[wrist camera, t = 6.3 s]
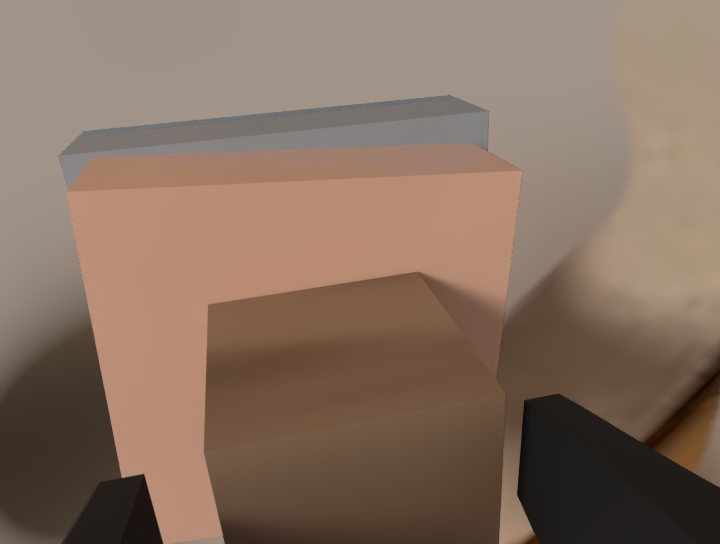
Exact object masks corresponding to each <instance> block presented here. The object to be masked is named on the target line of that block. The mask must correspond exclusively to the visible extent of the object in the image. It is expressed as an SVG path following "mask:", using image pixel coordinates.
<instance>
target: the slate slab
mask: <svg viewBox="0 0 720 544" xmlns="http://www.w3.org/2000/svg"><path fill="white" fill-rule="evenodd" d="M488 121H489V111H487V110H485V109H483V108H480V107H478V106H475V105H473V104H470V103H468V102H465V101H463V100H460V99H458V98H456V97H453V96H450V95H446V96H435V97H425V98H415V99H405V100H395V101H384V102H374V103H365V104H354V105H344V106H334V107H323V108H314V109H303V110H293V111H282V112H272V113H263V114H252V115H242V116H232V117H221V118H211V119H201V120H191V121H181V122H171V123H160V124H151V125H141V126H130V127H120V128H110V129H99V130H89V131H83V132H82V133H81V134H80V135H79V136H78V137H77V138H76V139H75V140H74V141H73V142H72V143H71V144H70V145H69V146H68V147H67V148H66V149H65V150H64V151H63V152H62V153H61V154H60V155H59V160H60V163H61V167H62V170H63V174H64V178H65V181H66V185H67V188H68V189H69V188H70V186H71V185H72V184H73V182H74V181H75V180H76V179H77V177H78V176H79V175H80V174H81V172H82V171H83V170H84V168H85V167H86V166H87V165H88V163H89V162H90V161H91V159H92V158H93V157H94V156H117V155H145V154H173V153H201V152H229V151H258V150H286V149H314V148H342V147H370V146H399V145H427V144H455V143H473V144H475V145H477V146H479V147H481V148H482V149H484V150H486V151H488V124H489V122H488Z"/></svg>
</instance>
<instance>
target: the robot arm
mask: <svg viewBox="0 0 720 544" xmlns="http://www.w3.org/2000/svg"><path fill="white" fill-rule="evenodd" d="M517 495H518V498H519V500H520V502H521V504H522V507H523V509H524V511H525V513H526V515H527V518H528V520H529V522H530V524H531V527H532V529H533V531H534V533H535V535H536V537H537V539H538V541H539V543H540V544H720V488H719V487H718V486H715V485H714V484H712V483H710V482H709V481H706V480H705V479H703V478H701V477H700V476H698V475H696V474H694V473H693V472H691V471H689V470H687V469H686V468H684V467H682V466H680V465H679V464H677V463H675V462H673V461H672V460H670V459H668V458H667V457H665V456H663V455H661V454H660V453H658V452H656V451H655V450H653V449H651V448H650V447H648V446H646V445H645V444H643V443H641V442H640V441H638V440H636V439H635V438H633V437H631V436H630V435H628V434H626V433H625V432H623V431H621V430H620V429H618V428H616V427H615V426H613V425H611V424H610V423H608V422H607V421H605V420H603V419H602V418H600V417H598V416H597V415H595V414H593V413H592V412H590V411H588V410H587V409H585V408H583V407H581V406H580V405H578V404H576V403H575V402H573V401H571V400H569V399H568V398H566V397H564V396H562V395H560V394H555V395H550V396H545V397H539V398H534V399H529V400H524V412H523V425H522V438H521V451H520V464H519V477H518V490H517ZM61 544H163V541H162V537H161V533H160V530H159V526H158V522H157V519H156V515H155V511H154V508H153V504H152V501H151V497H150V493H149V490H148V486H147V482H146V479H145V475H144V474H140V475H135V476H130V477H124V478H119V479H114V480H109V481H104V482H100V483H99V484H98V486H97V487H96V488H95V489H94V491H93V492H92V494H91V496H90V497H89V499H88V500H87V502H86V504H85V505H84V507H83V509H82V510H81V512H80V514H79V516H78V517H77V519H76V520H75V522H74V524H73V525H72V527H71V528H70V530H69V532H68V534H67V535H66V537H65V538H64V540H63V542H62V543H61Z"/></svg>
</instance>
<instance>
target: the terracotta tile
mask: <svg viewBox="0 0 720 544" xmlns="http://www.w3.org/2000/svg"><path fill="white" fill-rule="evenodd" d="M522 173H523V171H522V170H521V169H519V168H517V167H515V166H513V165H511V164H510V163H508V162H506V161H504V160H502V159H501V158H499V157H497V156H495V155H493V154H491V153H489V152H488V151H486V150H484V149H482V148H481V147H479V146H477V145H475V144H473V143H455V144H427V145H399V146H370V147H342V148H314V149H286V150H258V151H229V152H201V153H173V154H145V155H117V156H94V157H93V158H92V159H91V161H90V162H89V163H88V165H87V166H86V167H85V168H84V170H83V171H82V172H81V174H80V175H79V176H78V177H77V179H76V180H75V181H74V182H73V184H72V185H71V186H70V188H69V189H68V190H67V192H66V194H67V199H68V204H69V209H70V214H71V219H72V225H73V230H74V234H75V239H76V245H77V250H78V255H79V260H80V265H81V270H82V276H83V280H84V286H85V291H86V296H87V301H88V306H89V311H90V317H91V322H92V327H93V332H94V337H95V342H96V347H97V352H98V357H99V363H100V368H101V373H102V377H103V383H104V388H105V393H106V398H107V403H108V407H109V413H110V419H111V423H112V429H113V434H114V439H115V444H116V449H117V455H118V459H119V465H120V470H121V475H122V478H124V477H130V476H135V475H140V474H144V475H145V479H146V482H147V486H148V490H149V493H150V497H151V501H152V504H153V508H154V511H155V515H156V519H157V522H158V526H159V530H160V533H161V537H162V541H163V544H173V543H179V542H185V541H190V540H197V539H203V538H209V537H216V536H222V535H223V533H222V529H221V525H220V521H219V516H218V512H217V508H216V503H215V499H214V495H213V490H212V486H211V482H210V478H209V473H208V469H207V465H206V460H205V456H204V426H205V392H206V357H207V323H208V305H209V304H215V303H221V302H228V301H234V300H240V299H247V298H253V297H260V296H266V295H272V294H279V293H285V292H292V291H298V290H304V289H311V288H317V287H323V286H330V285H336V284H343V283H349V282H355V281H362V280H368V279H375V278H381V277H387V276H394V275H400V274H406V273H413V272H418V273H419V275H420V276H421V277H422V279H423V280H424V281H425V283H426V284H427V285H428V287H429V288H430V290H431V291H432V292H433V294H434V295H435V296H436V298H437V299H438V301H439V302H440V303H441V305H442V306H443V307H444V309H445V310H446V312H447V313H448V314H449V316H450V317H451V318H452V320H453V321H454V322H455V324H456V325H457V327H458V328H459V329H460V331H461V332H462V333H463V335H464V336H465V338H466V339H467V340H468V342H469V343H470V344H471V346H472V347H473V349H474V350H475V351H476V353H477V354H478V355H479V357H480V358H481V360H482V361H483V362H484V364H485V365H486V366H487V368H488V369H489V370H490V372H491V373H492V375H493V376H494V377H495V379H496V377H497V369H498V362H499V354H500V346H501V338H502V330H503V322H504V314H505V307H506V298H507V290H508V283H509V275H510V267H511V259H512V251H513V244H514V243H513V242H514V235H515V228H516V219H517V212H518V204H519V196H520V189H521V181H522Z"/></svg>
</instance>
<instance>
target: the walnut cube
mask: <svg viewBox="0 0 720 544" xmlns="http://www.w3.org/2000/svg"><path fill="white" fill-rule="evenodd" d="M505 406H506V392H505V391H504V390H503V388H502V387H501V386H500V384H499V383H498V381H497V380H496V379H495V377H494V376H493V375H492V373H491V372H490V370H489V369H488V368H487V366H486V365H485V364H484V362H483V361H482V360H481V358H480V357H479V355H478V354H477V353H476V351H475V350H474V349H473V347H472V346H471V344H470V343H469V342H468V340H467V339H466V338H465V336H464V335H463V333H462V332H461V331H460V329H459V328H458V327H457V325H456V324H455V322H454V321H453V320H452V318H451V317H450V316H449V314H448V313H447V312H446V310H445V309H444V307H443V306H442V305H441V303H440V302H439V301H438V299H437V298H436V296H435V295H434V294H433V292H432V291H431V290H430V288H429V287H428V285H427V284H426V283H425V281H424V280H423V279H422V277H421V276H420V275H419V273H418V272H413V273H406V274H400V275H394V276H387V277H381V278H375V279H368V280H362V281H355V282H349V283H343V284H336V285H330V286H323V287H317V288H311V289H304V290H298V291H292V292H285V293H279V294H272V295H266V296H260V297H253V298H247V299H240V300H234V301H228V302H221V303H215V304H209V305H208V323H207V357H206V392H205V426H204V456H205V460H206V465H207V469H208V473H209V478H210V482H211V486H212V490H213V495H214V499H215V503H216V508H217V512H218V516H219V521H220V525H221V529H222V533H223V538H224V542H225V544H499V529H500V509H501V488H502V468H503V447H504V427H505Z"/></svg>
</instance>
